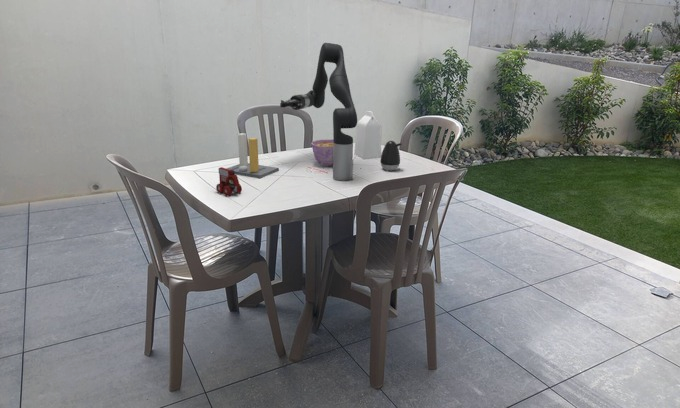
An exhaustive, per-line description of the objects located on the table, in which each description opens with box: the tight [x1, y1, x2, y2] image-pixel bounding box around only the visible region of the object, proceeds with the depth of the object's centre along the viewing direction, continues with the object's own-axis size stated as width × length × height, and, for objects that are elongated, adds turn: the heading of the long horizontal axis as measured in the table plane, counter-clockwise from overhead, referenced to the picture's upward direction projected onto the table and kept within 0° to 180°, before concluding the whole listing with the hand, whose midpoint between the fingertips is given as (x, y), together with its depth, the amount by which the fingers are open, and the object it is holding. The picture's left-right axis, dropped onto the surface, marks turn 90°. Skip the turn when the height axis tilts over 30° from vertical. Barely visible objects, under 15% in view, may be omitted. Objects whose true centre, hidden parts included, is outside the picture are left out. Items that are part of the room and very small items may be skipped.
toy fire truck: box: [215, 166, 243, 197], centre depth 185 cm, size 7×12×10 cm, turn 50°
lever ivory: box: [237, 132, 249, 166], centre depth 221 cm, size 3×3×16 cm
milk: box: [353, 110, 382, 160], centre depth 251 cm, size 12×12×26 cm
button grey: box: [239, 166, 248, 172], centre depth 214 cm, size 4×4×2 cm
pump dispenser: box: [380, 140, 402, 171], centre depth 225 cm, size 10×10×15 cm
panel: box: [226, 162, 280, 179], centre depth 218 cm, size 22×16×2 cm
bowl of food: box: [311, 139, 333, 167], centre depth 234 cm, size 20×20×12 cm
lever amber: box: [247, 137, 260, 172], centre depth 210 cm, size 3×3×16 cm
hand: (281, 105), depth 216 cm, fingers closed
